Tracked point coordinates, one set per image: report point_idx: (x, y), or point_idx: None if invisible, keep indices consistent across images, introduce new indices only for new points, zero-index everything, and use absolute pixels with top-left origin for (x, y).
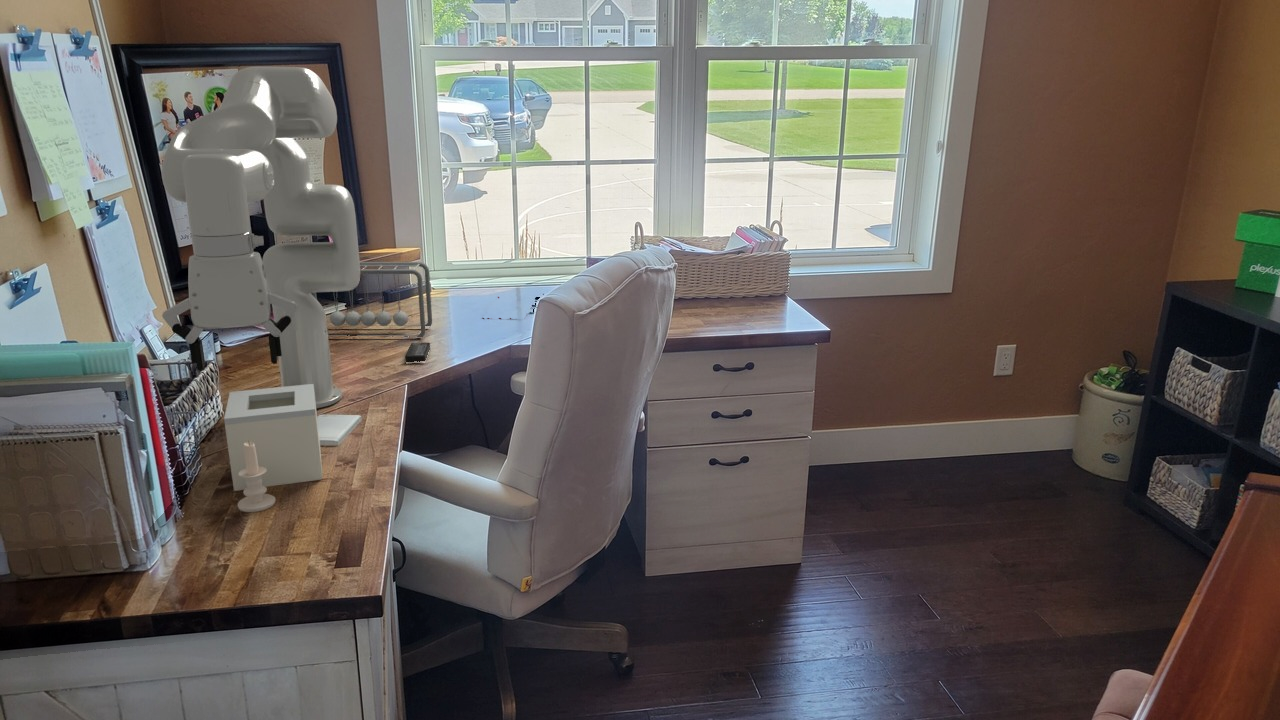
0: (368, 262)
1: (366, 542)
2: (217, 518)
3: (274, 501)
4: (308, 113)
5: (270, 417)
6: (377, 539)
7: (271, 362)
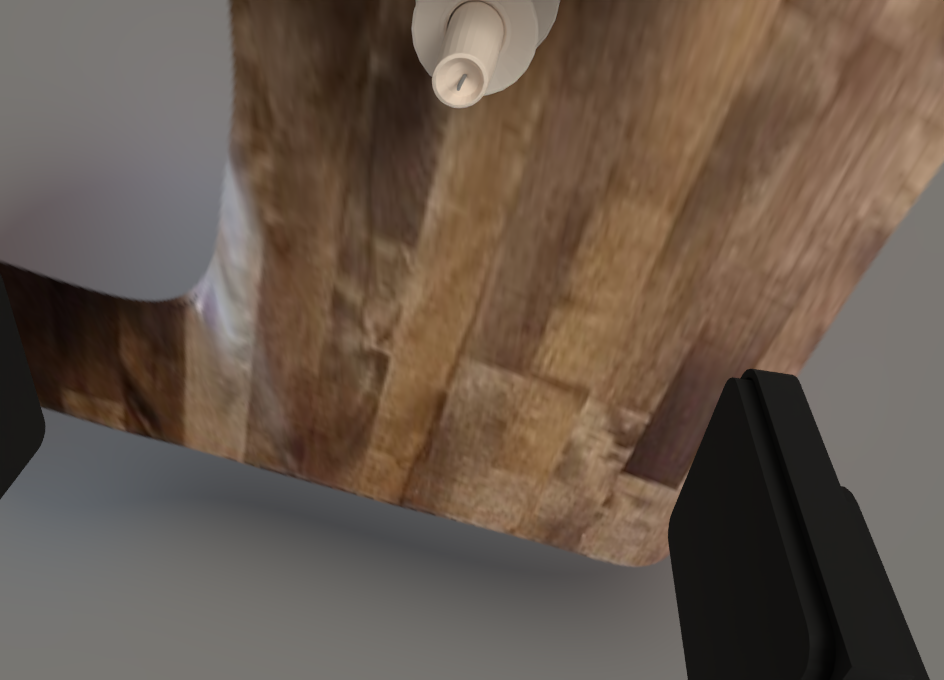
0: None
1: None
2: (343, 54)
3: (553, 23)
4: None
5: None
6: None
7: (668, 538)
